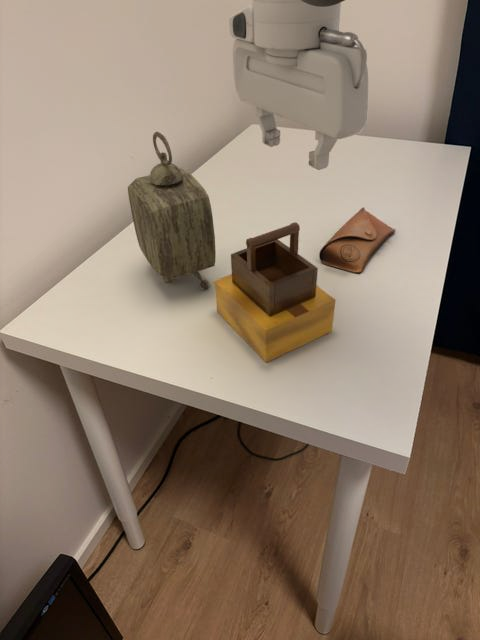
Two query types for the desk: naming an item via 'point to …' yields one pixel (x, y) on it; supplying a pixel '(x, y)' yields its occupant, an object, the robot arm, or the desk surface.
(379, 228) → the sunglasses case
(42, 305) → the desk surface
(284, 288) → the basket
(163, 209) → the tabletop clock
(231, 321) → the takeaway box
